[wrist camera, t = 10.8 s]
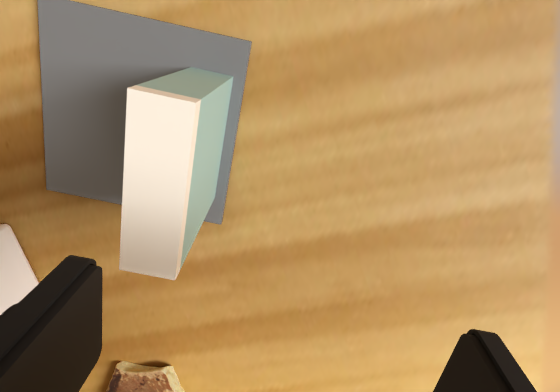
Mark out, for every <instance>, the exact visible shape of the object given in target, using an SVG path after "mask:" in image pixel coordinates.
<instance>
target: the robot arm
mask: <svg viewBox="0 0 560 392" xmlns="http://www.w3.org/2000/svg"><path fill="white" fill-rule="evenodd" d="M101 349H102V268H101V267H100V266H96V261H95V260H94V259H89V258H84V257H79V256H73V255H70V256H68V257H66V258H65V259H64V260H63V261H62V262H61V263H60V264H59V265H58V266H57V267H56V268H55V269H54V270H53V271H52V272H50V273H49V274H48V275H47V276H46V277H45V278H44V279H43V280H42V281H41V282H40V283H39V284H38V285H37V286H36V287H35V288H34V289H33V290H32V291H31V292H29V293H28V294H27V295H26V296H25V297H24V298H23V299H22V300H21V301H20V302H19V303H17V304H14V305H12V306H11V307H9V308H8V309H7V310H5V311H4V312H3V313H2V314H1V315H0V392H79V390H80V389H81V387H82V385H83V384H84V382H85V381H86V379H87V377H88V376H89V374H90V372H91V371H92V369H93V368H94V366H95V364H96V363H97V361H98V359H99V356H100V353H101ZM433 392H537V391H536V390H535V388H534V387H533V385H532V384H531V383H530V381H529V380H528V378H527V377H526V375H525V374H524V372H523V371H522V369H521V368H520V366H519V365H518V363H517V362H516V361H515V359H514V358H513V356H512V355H511V353H510V352H509V350H508V349H507V347H506V346H505V344H504V343H503V341H502V340H501V339H500V337H499V336H498V335H497V334H495V333H491V332H486V331H481V330H475V329H471V330H469V331H468V332H467V334H463V335H461V337H460V339H459V341H458V343H457V345H456V347H455V349H454V351H453V353H452V355H451V357H450V359H449V361H448V363H447V365H446V367H445V369H444V371H443V373H442V375H441V377H440V379H439V381H438V383H437V385H436V387H435V389H434V391H433Z"/></svg>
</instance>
